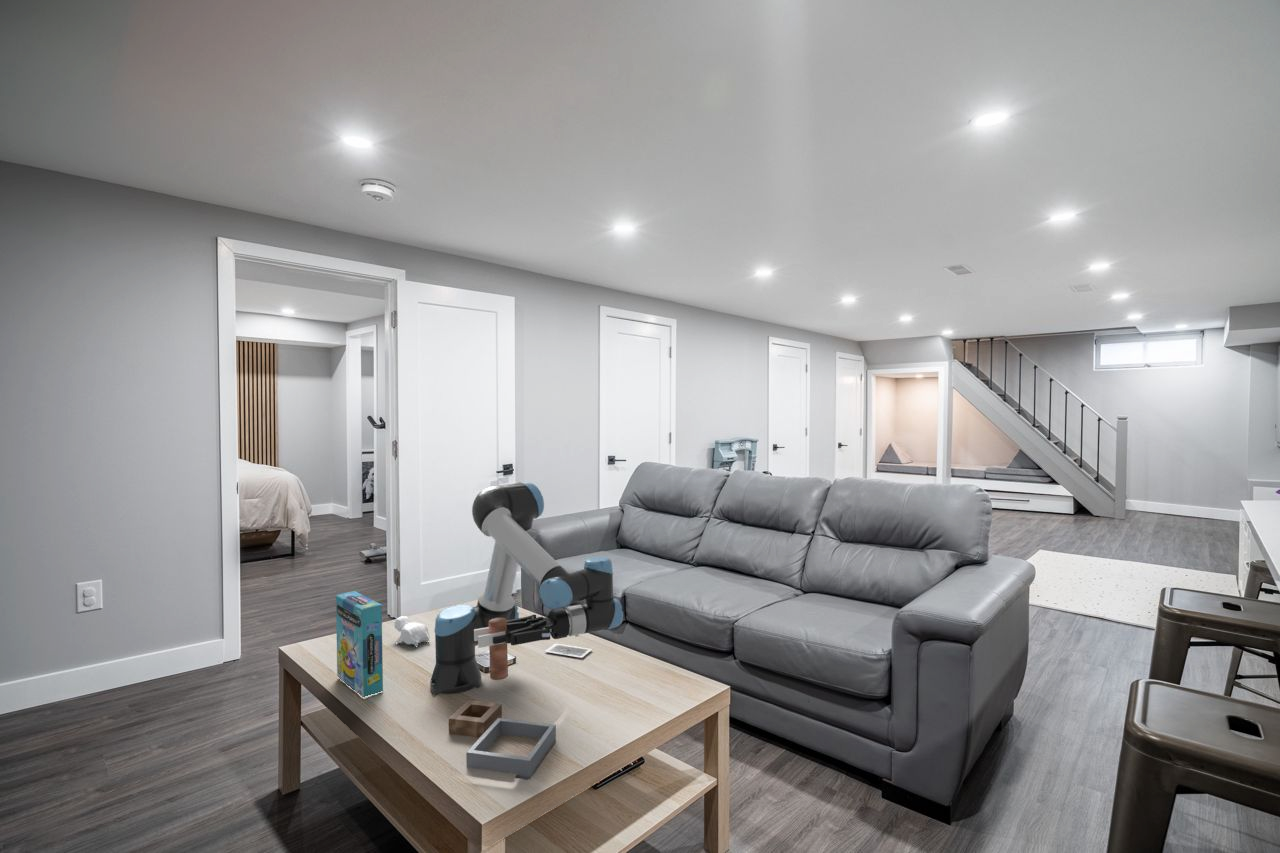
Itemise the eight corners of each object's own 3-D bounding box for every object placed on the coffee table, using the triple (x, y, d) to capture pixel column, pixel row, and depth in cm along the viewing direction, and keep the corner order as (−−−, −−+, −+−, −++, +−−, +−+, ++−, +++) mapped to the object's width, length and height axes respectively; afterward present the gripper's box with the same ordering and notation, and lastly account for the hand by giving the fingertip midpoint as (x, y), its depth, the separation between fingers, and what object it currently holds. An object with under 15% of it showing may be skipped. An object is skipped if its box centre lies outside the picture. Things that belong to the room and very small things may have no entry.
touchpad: (555, 646, 213) (555, 640, 213) (592, 652, 208) (592, 646, 207) (544, 654, 206) (544, 648, 206) (582, 660, 200) (582, 654, 200)
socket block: (448, 737, 153) (448, 718, 153) (468, 717, 162) (468, 700, 162) (484, 741, 150) (483, 722, 150) (502, 721, 160) (501, 703, 160)
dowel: (486, 679, 146) (485, 623, 146) (495, 671, 151) (493, 617, 151) (503, 680, 145) (501, 624, 145) (511, 673, 150) (509, 618, 150)
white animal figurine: (429, 648, 219) (405, 627, 226) (434, 629, 217) (409, 608, 224) (410, 657, 212) (385, 634, 219) (415, 637, 210) (390, 615, 217)
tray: (466, 770, 138) (466, 752, 138) (498, 734, 154) (498, 717, 154) (529, 779, 134) (529, 760, 134) (556, 741, 150) (555, 724, 150)
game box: (336, 679, 187) (334, 595, 187) (356, 673, 192) (354, 590, 191) (362, 700, 173) (360, 609, 173) (384, 692, 178) (382, 603, 177)
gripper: (578, 647, 148) (484, 666, 138) (555, 626, 164) (470, 642, 153) (577, 617, 148) (483, 634, 138) (555, 599, 164) (469, 613, 153)
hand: (476, 638), depth 146 cm, fingers closed on dowel, 4 cm apart
